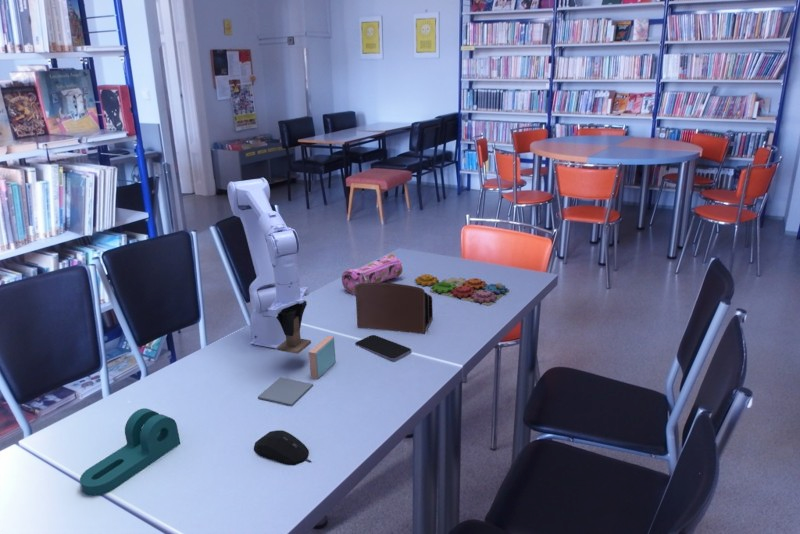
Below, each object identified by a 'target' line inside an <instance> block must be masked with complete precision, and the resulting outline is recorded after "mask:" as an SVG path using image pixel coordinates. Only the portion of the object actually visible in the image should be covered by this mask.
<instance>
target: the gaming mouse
mask: <svg viewBox="0 0 800 534" xmlns="http://www.w3.org/2000/svg"><path fill="white" fill-rule="evenodd" d="M253 450H254V452H255V453H256V454H257V455H259V456H260V457H262V458H264V459H268V460H270V461H273V462H276V463H279V464H282V465H285V466H296V465H298V464H301V463H303V462H306V463H308V464H309V463H311V464H312V463H313V461H312V460H310V459H308V457H309V455H310V450H309V448H308V447H307V446H306V445H305V444H304V442H302V441H301V440H300V439H299V438H297V437H295V435H293V434H292V433H290V432H287V431H285V430H281V429H279V430H278V429H277V430H271V431H268V432H267V433H266V434H265V435H263V436H262V437H260V438H259V439H258V440H257V441H255V442H254V445H253Z"/></svg>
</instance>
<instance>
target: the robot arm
mask: <svg viewBox="0 0 800 534" xmlns="http://www.w3.org/2000/svg"><path fill="white" fill-rule="evenodd" d="M226 188H227V197H228V198H227V199H228V201H229V205H230V208H231V212H232V215H233V216H235V217H237V218H240V221H241V223H242V226H243V230H244V234H245V237H246V241H247V245H248V249H249V253H250V257H251V261H252V265H253V267H254V273H255V275H256V278H255V279H254V280H253V281H252V282H251V283H250V285H249V288H248V292H249V300H250V306H251V308H252V312H251V315H250V319H249V323H250V324H249V325H250V330H251V338H252V341H250V344H251V345H256V346H261V347H265V348H271V349H276V350H277V347H278V346H279V345H280V344H282V343H283V342H284V341H286V335H288V336H293V333H294V317H295V316H298V317H299V327H300V328H301V327H302V320H303V315H304V311H305V309H306V307H307V305H308V303H307V301H306V300H305V297H307V296H309V294H310V293H309V287H307V286H301V285H300V275H299V265H298V253H300V249H301V248H300V247H301V245H300V240H299V236H298V233H297V231H296V230H295V229H294V228H291V227H288V226H287V224H286V222H285V220H284V219H283V218H282V216H281V214H280V213H279V212H278V211H276V210H273V208H272V206H271V204H270V198H271V189H270V185H269V182H268V180H267V179H266V178H264V177H260V178H254V179H253V178H252V179H247V180H240V181H229V182H228V184H227V187H226Z"/></svg>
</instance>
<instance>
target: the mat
mask: <svg viewBox="0 0 800 534" xmlns="http://www.w3.org/2000/svg"><path fill="white" fill-rule="evenodd" d="M312 387H314V383H309V382H305V381H300V380H295V379H291V378H285V377H281V376H280V377H279V378H278V379H276V380H275V381H274V382H273V383H272V384H271V385H269V386H268V387H267V388H266V389H264V391H263V392H261V393H260V394H259V395H257V399H258V400H262V401H267V402H271V403H276V404H281V405H284V406H289V407H293V406H294V405H295V404H296V403H297V402H298V401H300V399H301V398H302V397H303V396H304V395H306V393H307V392H308V391H309V390H310V389H312Z"/></svg>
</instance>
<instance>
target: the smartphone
mask: <svg viewBox="0 0 800 534" xmlns="http://www.w3.org/2000/svg"><path fill="white" fill-rule="evenodd" d="M354 345H355V346H356V347H358V346H359V347H358V348H360V349H363V350H365V351H367V352H370V353H371V354H374V355H376V356H378V357H380V358H383V359H384V360H388V361H389V362H396V361H399V360H400V359H403V358H404V357H406V356H408V355H410V354H411V353H412V348H410V347H407V346H406V345H402V344H400V343H398V342H395V341H393V340H392V341H391V340H389V339H387V338H384V337H381V336H378V335H376V334H370V335H369V336H367V337H365V338H362V339H360V340H358V341H356V342H355V343H354Z"/></svg>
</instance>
